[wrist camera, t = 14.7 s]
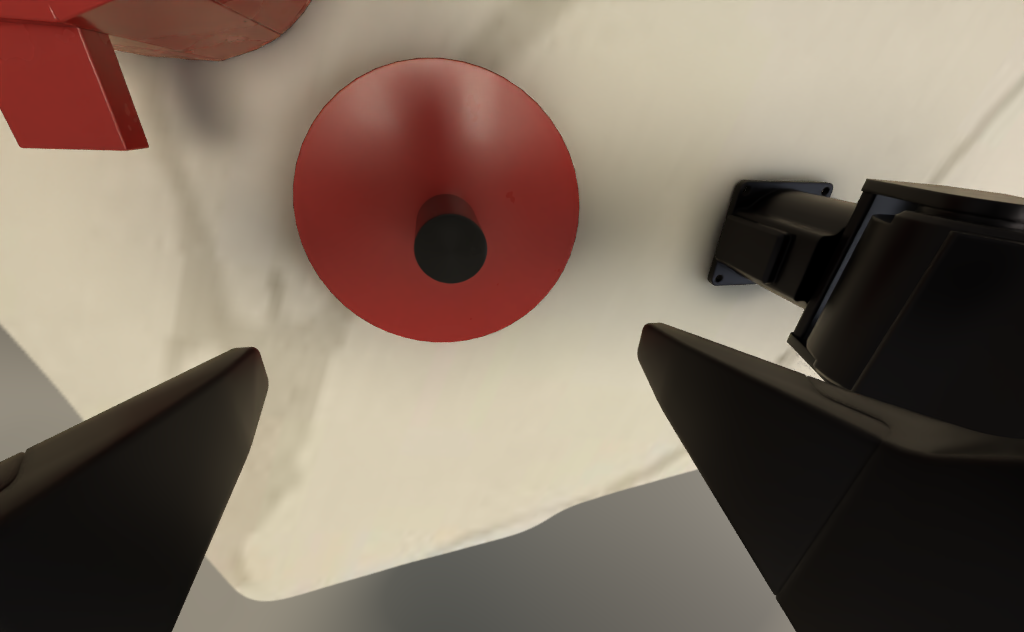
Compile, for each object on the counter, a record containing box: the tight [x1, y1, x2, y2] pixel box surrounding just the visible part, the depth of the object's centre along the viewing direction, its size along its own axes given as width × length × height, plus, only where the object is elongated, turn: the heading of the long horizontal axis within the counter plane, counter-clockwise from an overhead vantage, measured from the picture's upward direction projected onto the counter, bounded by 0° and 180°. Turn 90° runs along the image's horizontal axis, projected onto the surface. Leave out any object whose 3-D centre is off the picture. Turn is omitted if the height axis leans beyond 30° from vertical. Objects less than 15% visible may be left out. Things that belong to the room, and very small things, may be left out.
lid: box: [293, 58, 579, 342], centre depth 18 cm, size 14×14×5 cm
